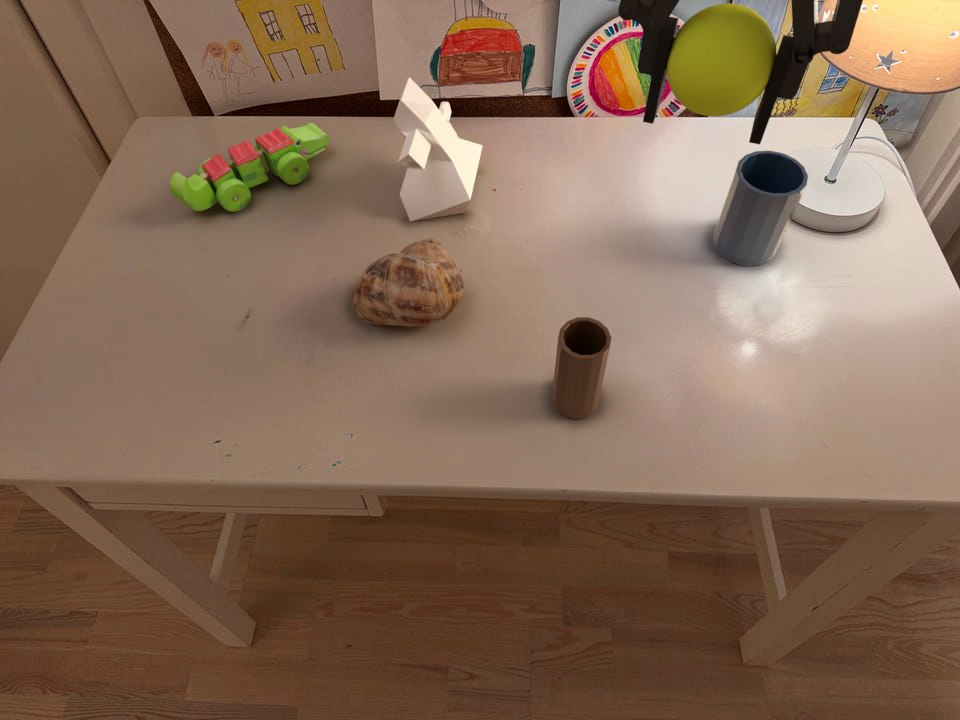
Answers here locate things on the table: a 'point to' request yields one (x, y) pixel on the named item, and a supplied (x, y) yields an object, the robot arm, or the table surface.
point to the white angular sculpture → (433, 158)
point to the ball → (721, 59)
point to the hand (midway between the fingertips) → (703, 121)
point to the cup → (759, 207)
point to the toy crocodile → (250, 168)
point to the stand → (580, 366)
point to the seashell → (409, 286)
